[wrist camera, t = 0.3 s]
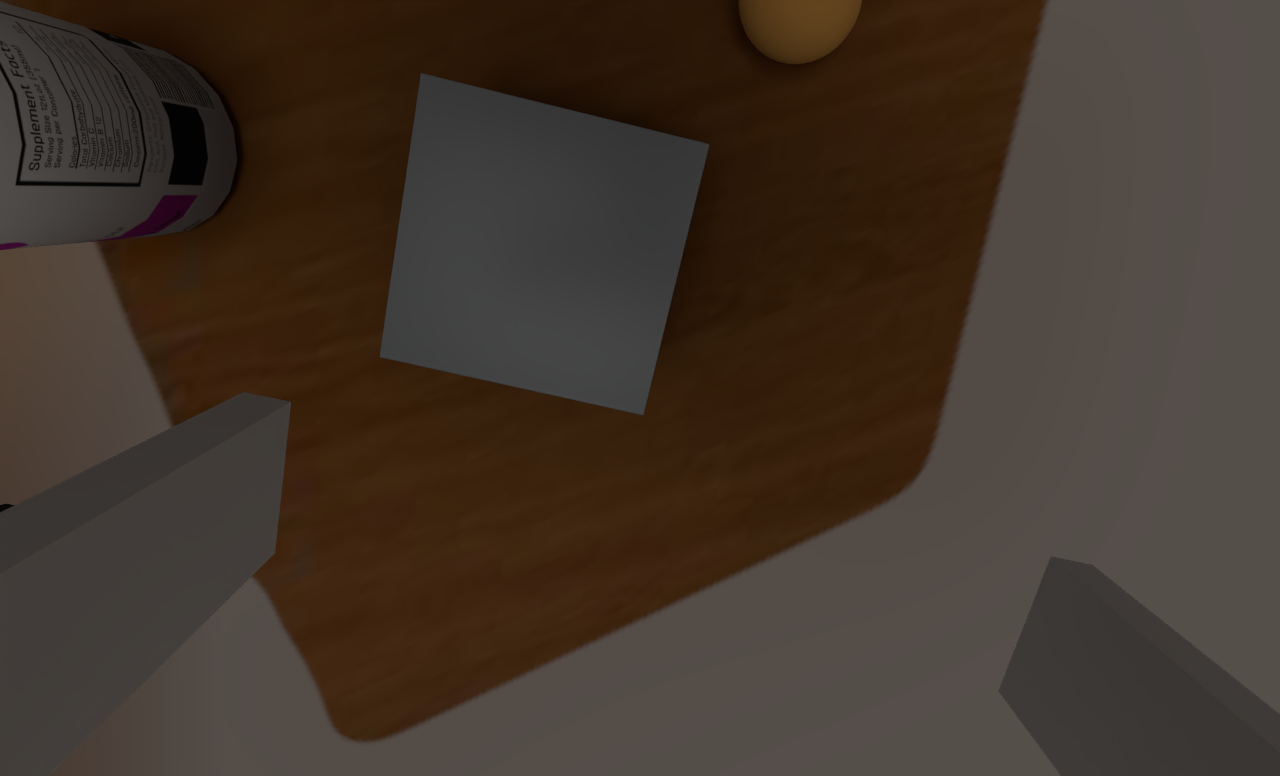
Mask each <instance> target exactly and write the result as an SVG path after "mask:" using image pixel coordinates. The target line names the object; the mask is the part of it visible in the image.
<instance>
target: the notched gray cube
mask: <svg viewBox="0 0 1280 776" xmlns="http://www.w3.org/2000/svg"><path fill="white" fill-rule="evenodd" d="M708 148H709V144H706V143H702V142H698V141H694V140H690V139H686V138H682V137H678V136H674V135H670V134H666V133H662V132H658V131H653V130H649V129H645V128H641V127H637V126H633V125H629V124H625V123H621V122H617V121H613V120H609V119H605V118H601V117H597V116H593V115H589V114H584V113H580V112H576V111H572V110H568V109H564V108H560V107H556V106H552V105H548V104H544V103H540V102H536V101H532V100H528V99H524V98H520V97H516V96H511V95H507V94H503V93H499V92H495V91H491V90H487V89H483V88H479V87H475V86H471V85H467V84H463V83H459V82H455V81H451V80H447V79H443V78H438V77H434V76H430V75H426V74H422V73H421V77H420V84H419V90H418V97H417V104H416V111H415V118H414V125H413V132H412V138H411V145H410V152H409V159H408V166H407V173H406V180H405V187H404V193H403V200H402V207H401V214H400V221H399V228H398V235H397V241H396V248H395V255H394V262H393V269H392V276H391V283H390V289H389V296H388V303H387V310H386V317H385V324H384V331H383V338H382V344H381V351H380V357H383V358H387V359H392V360H396V361H401V362H405V363H410V364H414V365H419V366H423V367H428V368H432V369H437V370H441V371H446V372H450V373H455V374H459V375H464V376H468V377H473V378H478V379H482V380H487V381H491V382H496V383H500V384H505V385H509V386H514V387H518V388H523V389H527V390H532V391H536V392H541V393H545V394H550V395H554V396H559V397H563V398H568V399H573V400H577V401H582V402H586V403H591V404H595V405H600V406H604V407H609V408H613V409H618V410H622V411H627V412H631V413H636V414H640V415H643V414H644V410H645V406H646V402H647V398H648V394H649V390H650V385H651V381H652V377H653V373H654V369H655V365H656V361H657V357H658V353H659V349H660V345H661V340H662V336H663V332H664V328H665V324H666V320H667V316H668V312H669V308H670V304H671V299H672V295H673V291H674V287H675V283H676V279H677V275H678V271H679V267H680V263H681V259H682V254H683V250H684V246H685V242H686V238H687V234H688V230H689V226H690V222H691V218H692V213H693V209H694V205H695V201H696V197H697V193H698V189H699V185H700V181H701V177H702V173H703V168H704V164H705V160H706V156H707V152H708Z"/></svg>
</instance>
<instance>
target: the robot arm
mask: <svg viewBox="0 0 1280 776" xmlns="http://www.w3.org/2000/svg"><path fill="white" fill-rule="evenodd" d="M290 407H291V402H289V401H284V400H279V399H274V398H269V397H264V396H259V395H254V394H249V393H244V392H243V393H241V394H239V395H237V396H235V397H233V398H231V399H229V400H227V401H225V402H223V403H221V404H219V405H217V406H215V407H213V408H211V409H209V410H207V411H205V412H203V413H201V414H199V415H197V416H195V417H193V418H191V419H189V420H187V421H185V422H182V423H180V424H178V425H176V426H174V427H172V428H170V429H168V430H166V431H165V432H162V433H160V434H158V435H156V436H154V437H152V438H150V439H148V440H146V441H144V442H142V443H140V444H138V445H136V446H134V447H132V448H130V449H128V450H126V451H124V452H122V453H120V454H118V455H116V456H114V457H112V458H110V459H108V460H106V461H104V462H102V463H100V464H98V465H95V466H93V467H91V468H89V469H87V470H86V471H83V472H82V473H79V474H77V475H75V476H73V477H71V478H69V479H67V480H65V481H63V482H61V483H59V484H57V485H55V486H53V487H51V488H49V489H47V490H45V491H43V492H41V493H39V494H37V495H35V496H33V497H31V498H29V499H27V500H25V501H23V502H21V503H19V504H17V505H10V504H4V505H0V776H49V775H50V774H51V773H52V772H53V771H54V770H55V769H56V768H57V767H58V766H59V765H60V764H61V763H62V762H63V761H64V760H65V759H66V758H67V757H68V756H70V755H71V753H72V752H73V751H75V750H76V749H77V748H78V747H79V746H80V745H81V744H82V743H83V742H84V741H85V740H86V739H87V738H88V737H89V736H90V735H91V734H92V733H93V732H94V731H95V730H96V729H97V728H98V727H99V726H100V725H101V724H102V723H103V722H104V721H105V720H106V719H107V718H108V717H109V716H110V715H111V714H112V713H113V712H114V711H115V710H116V709H117V708H118V707H119V706H120V705H121V704H122V703H123V702H124V701H125V700H126V699H127V698H128V697H129V696H130V695H131V694H132V693H133V692H134V691H135V690H136V689H138V687H139V686H141V685H142V684H143V683H144V682H145V681H146V680H147V679H148V677H150V676H151V675H152V674H153V673H154V672H155V671H156V670H157V669H158V668H159V667H160V666H161V665H162V664H163V663H164V662H165V661H166V660H167V659H168V658H169V657H170V656H171V655H172V654H173V653H174V652H175V651H176V650H177V649H178V648H179V647H180V646H181V645H182V644H183V643H184V642H185V641H186V640H187V639H188V638H189V637H190V636H191V635H192V634H193V633H194V632H195V631H196V630H197V629H198V628H199V627H200V626H201V625H202V624H203V623H204V622H206V621H207V619H209V618H210V616H211V615H213V614H214V613H215V612H216V611H217V610H218V609H219V608H220V607H221V606H222V605H223V604H224V603H225V602H226V601H227V600H228V599H229V598H230V597H231V596H232V595H233V594H234V593H235V592H236V591H237V590H238V589H239V588H240V587H241V586H242V585H243V584H244V583H245V582H246V581H247V580H248V579H249V578H250V577H251V576H252V575H253V574H254V573H255V572H256V571H257V570H258V569H259V568H260V567H261V566H262V565H263V564H264V563H265V562H266V561H267V560H268V559H269V558H270V557H271V556H272V555H273V554H275V547H276V538H277V528H278V519H279V510H280V500H281V491H282V482H283V472H284V463H285V454H286V444H287V435H288V425H289V416H290ZM999 693H1000V694H1001V695H1002V696H1003V698H1004V699H1005V701H1006V702H1007V703H1008V705H1009V706H1010V707H1011V709H1012V710H1013V711H1014V713H1015V714H1016V715H1017V717H1018V718H1019V720H1020V721H1021V722H1022V724H1023V725H1024V726H1025V728H1026V729H1027V730H1028V732H1029V733H1030V734H1031V736H1032V737H1033V738H1034V740H1035V741H1036V742H1037V744H1038V745H1039V747H1040V748H1041V749H1042V751H1043V752H1044V753H1045V755H1046V756H1047V757H1048V759H1049V760H1050V761H1051V763H1052V764H1053V765H1054V767H1055V768H1056V769H1057V771H1058V772H1059V774H1060V775H1061V776H1280V714H1279V713H1277V712H1276V711H1275V710H1274V709H1272V708H1271V707H1270V706H1268V705H1267V704H1266V703H1265V702H1264V701H1262V700H1261V699H1260V698H1259V697H1257V696H1256V695H1255V694H1254V693H1252V692H1251V691H1250V690H1248V689H1247V688H1246V687H1245V686H1243V685H1242V684H1241V683H1240V682H1239V681H1237V680H1236V679H1235V678H1234V677H1232V676H1231V675H1230V674H1229V673H1227V672H1226V671H1225V670H1223V669H1222V668H1221V667H1220V666H1218V665H1217V664H1216V663H1215V662H1213V661H1212V660H1211V659H1210V658H1208V657H1207V656H1206V655H1205V654H1203V653H1202V652H1201V651H1200V650H1198V649H1197V648H1196V647H1195V646H1193V645H1192V644H1191V643H1190V642H1188V641H1187V640H1186V639H1185V638H1183V637H1182V636H1181V635H1180V634H1178V633H1177V632H1175V630H1173V629H1172V628H1171V627H1169V626H1168V625H1167V624H1166V623H1165V622H1163V621H1162V620H1161V619H1160V618H1158V617H1157V616H1156V615H1154V614H1153V613H1152V612H1151V611H1149V610H1148V609H1147V608H1146V607H1144V606H1143V605H1142V604H1140V603H1139V602H1138V601H1137V600H1135V599H1134V598H1133V597H1132V596H1131V595H1129V594H1128V593H1127V592H1126V591H1124V590H1123V589H1122V588H1121V587H1119V586H1118V585H1117V584H1116V583H1114V582H1113V581H1112V580H1111V579H1109V578H1108V577H1107V576H1106V575H1104V574H1103V573H1102V572H1101V571H1099V570H1098V569H1097V568H1096V567H1094V566H1093V565H1090V564H1085V563H1080V562H1075V561H1071V560H1065V559H1061V558H1056V557H1051V558H1050V560H1049V563H1048V565H1047V568H1046V570H1045V573H1044V575H1043V578H1042V581H1041V584H1040V586H1039V588H1038V591H1037V593H1036V596H1035V599H1034V601H1033V604H1032V606H1031V609H1030V611H1029V614H1028V616H1027V619H1026V622H1025V624H1024V627H1023V630H1022V632H1021V634H1020V637H1019V640H1018V642H1017V645H1016V647H1015V650H1014V652H1013V655H1012V658H1011V660H1010V663H1009V665H1008V668H1007V670H1006V673H1005V676H1004V678H1003V681H1002V683H1001V686H1000V689H999Z"/></svg>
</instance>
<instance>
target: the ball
mask: <svg viewBox="0 0 1280 776" xmlns="http://www.w3.org/2000/svg"><path fill="white" fill-rule="evenodd" d="M861 3H862V0H739V13H740V18H741V22H742V25H743V28H744V30H745V32H746V35H747V36H748V38H749V40H750V41H751V43H752V44H753V45H754V46H755V47H756V48H757V49H758V50H759V51H760V52H761V53H762V54H764V55H765V56H767V57H769V58H771V59H773V60H775V61H778V62H781V63H786V64H805V63H809V62H812V61H815V60H817V59H820V58H822V57H824V56H826V55H827V54H829V53H830V52H832V51H833V50H834V49H836V48H837V47H838V46H839V45H840V44H841V43H842V42H843V41H844V39H845V38H846V37H847V36H848V34H849V33H850V31H851V30H852V28H853V26H854V24H855V22H856V20H857V17H858V14H859V11H860V8H861Z"/></svg>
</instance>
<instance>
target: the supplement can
mask: <svg viewBox="0 0 1280 776" xmlns="http://www.w3.org/2000/svg"><path fill="white" fill-rule="evenodd" d="M236 164H237V155H236V146H235V137H234V128H233V126H232V124H231V122H230V119H229V117H228V115H227V113H226V111H225V108H224V106H223V104H222V102H221V100H220V98H219V96H218V94H217V93H216V92H215V91H214V90H213V89H212V88H211V87H210V86H209V84H208V83H207V82H206V81H205V80H204V79H203V78H202V77H201V75H200V74H199V73H198V72H197V71H196V70H195V69H194V68H192V67H191V66H189V65H187V64H186V63H184V62H182V61H180V60H179V59H177V58H175V57H174V56H172V55H170V54H169V53H167V52H165V51H163V50H160V49H157V48H153V47H150V46H147V45H143V44H140V43H137V42H133V41H130V40H127V39H123V38H120V37H116V36H113V35H110V34H106V33H103V32H100V31H96V30H93V29H90V28H86V27H83V26H80V25H76V24H73V23H70V22H66V21H63V20H60V19H56V18H53V17H50V16H46V15H43V14H40V13H36V12H33V11H30V10H26V9H23V8H20V7H16V6H13V5H10V4H6V3H3V2H0V250H5V249H16V248H27V247H37V246H49V245H59V244H70V243H82V242H93V241H104V240H115V239H126V238H137V237H148V236H159V235H165V234H171V233H177V232H183V231H189V230H190V229H192V228H193V227H195V226H197V225H198V224H200V223H202V222H203V221H205V220H206V219H208V218H210V217H211V216H213V215H214V213H215V212H216V211H217V209H218V208H219V206H220V205H221V204H222V202H223V201H224V199H225V198H226V196H227V195H228V194H229V192H230V190H231V185H232V181H233V177H234V173H235V169H236Z"/></svg>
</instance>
